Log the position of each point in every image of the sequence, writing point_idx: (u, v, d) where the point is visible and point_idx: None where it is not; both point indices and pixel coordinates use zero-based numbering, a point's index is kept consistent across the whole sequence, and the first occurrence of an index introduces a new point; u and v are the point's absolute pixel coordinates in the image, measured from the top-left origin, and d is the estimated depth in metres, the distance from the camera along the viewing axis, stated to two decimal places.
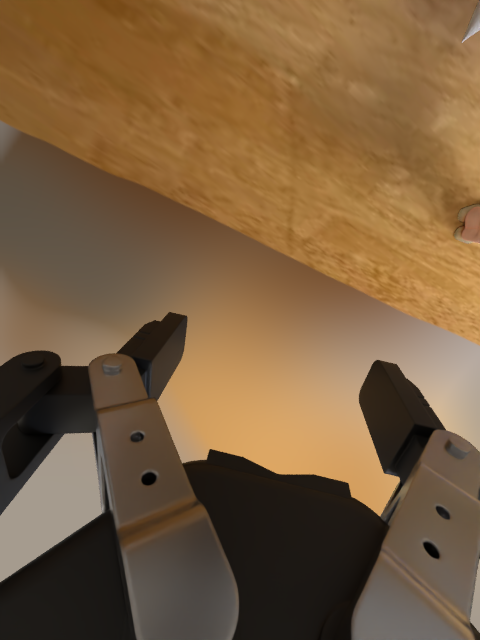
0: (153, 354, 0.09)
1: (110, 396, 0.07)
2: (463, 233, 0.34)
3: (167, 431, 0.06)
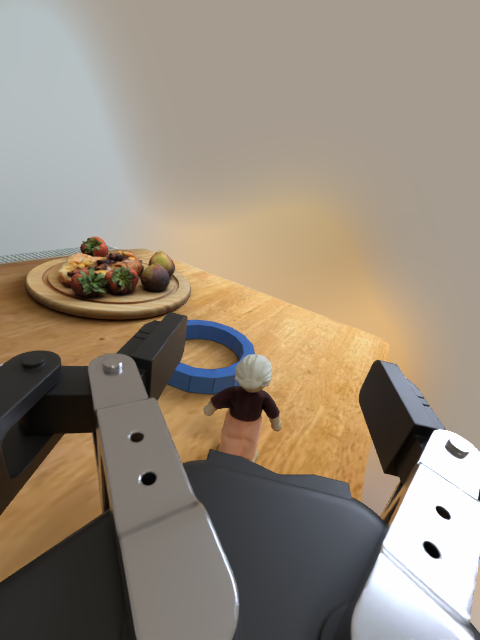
0: (153, 354, 0.09)
1: (110, 396, 0.07)
2: (247, 456, 0.29)
3: (167, 431, 0.06)
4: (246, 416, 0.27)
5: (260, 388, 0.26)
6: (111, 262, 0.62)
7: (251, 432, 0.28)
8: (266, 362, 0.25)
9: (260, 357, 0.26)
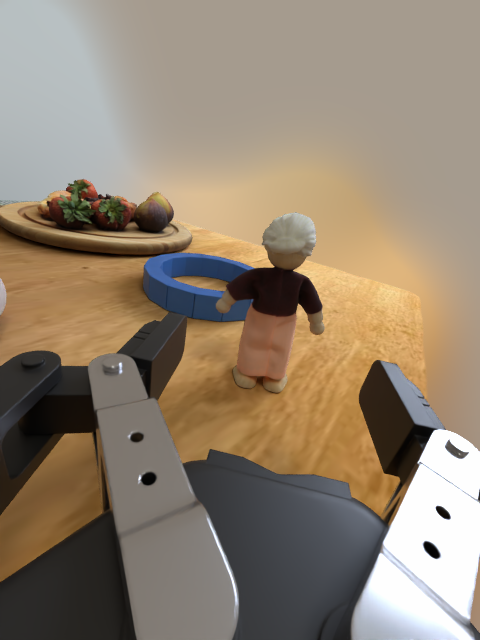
0: (153, 354, 0.09)
1: (110, 396, 0.07)
2: (274, 375, 0.21)
3: (167, 431, 0.06)
4: (277, 307, 0.19)
5: (299, 259, 0.18)
6: None
7: (282, 337, 0.20)
8: (309, 219, 0.17)
9: None
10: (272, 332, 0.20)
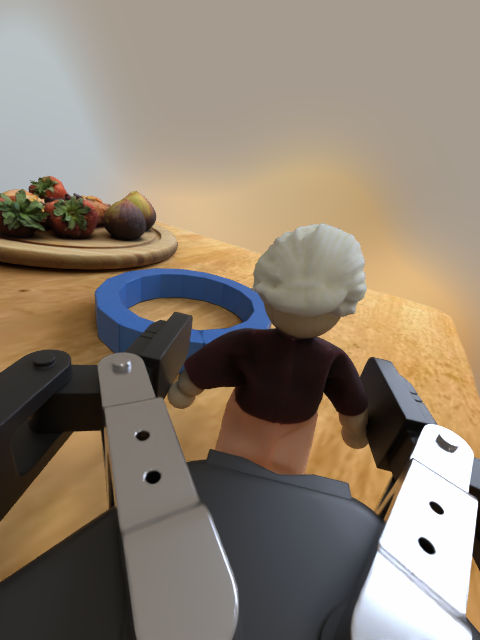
0: (161, 353, 0.09)
1: (118, 394, 0.07)
2: None
3: (173, 431, 0.06)
4: (283, 409, 0.09)
5: (331, 322, 0.08)
6: None
7: (291, 451, 0.11)
8: (352, 237, 0.08)
9: (331, 226, 0.08)
10: (273, 447, 0.11)
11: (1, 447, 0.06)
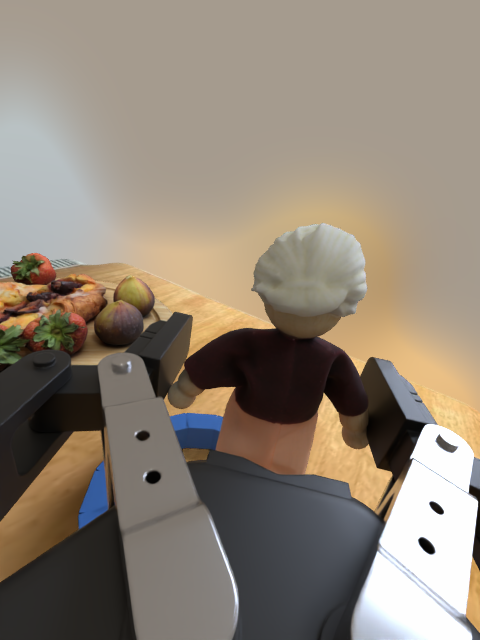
0: (161, 353, 0.09)
1: (118, 394, 0.07)
2: None
3: (173, 430, 0.06)
4: (283, 409, 0.09)
5: (331, 322, 0.08)
6: (51, 296, 0.39)
7: (291, 452, 0.11)
8: (353, 237, 0.08)
9: (332, 226, 0.08)
10: (273, 447, 0.11)
11: (1, 447, 0.06)
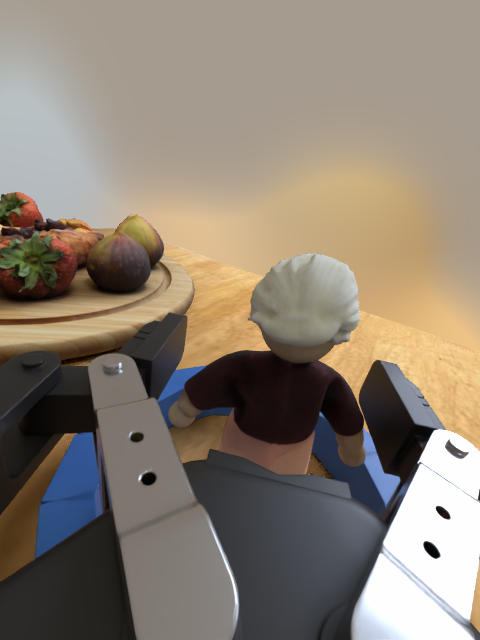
0: (153, 354, 0.09)
1: (110, 396, 0.07)
2: None
3: (167, 431, 0.06)
4: (280, 430, 0.10)
5: (325, 349, 0.09)
6: (33, 234, 0.31)
7: (289, 469, 0.11)
8: (346, 268, 0.08)
9: None
10: (271, 465, 0.11)
11: None
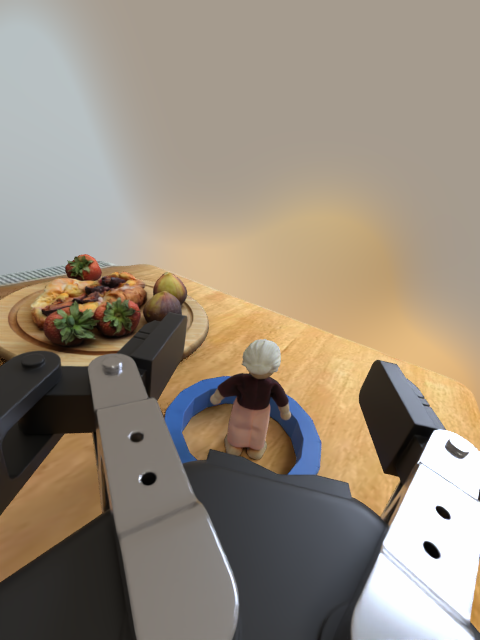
0: (153, 354, 0.09)
1: (110, 396, 0.07)
2: (255, 447, 0.28)
3: (167, 431, 0.06)
4: (254, 404, 0.26)
5: (269, 374, 0.25)
6: (104, 289, 0.47)
7: (259, 421, 0.27)
8: (275, 347, 0.24)
9: (268, 342, 0.25)
10: (252, 419, 0.27)
11: None
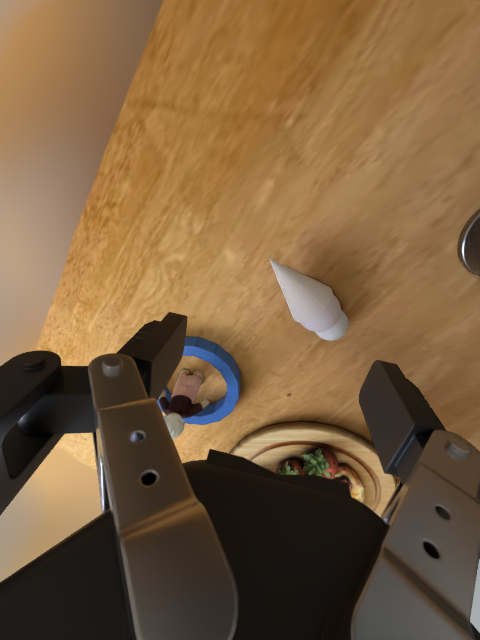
0: (153, 354, 0.09)
1: (110, 396, 0.07)
2: (184, 375, 0.47)
3: (167, 431, 0.06)
4: (180, 397, 0.42)
5: (168, 414, 0.39)
6: None
7: (178, 388, 0.44)
8: None
9: None
10: (183, 389, 0.44)
11: None
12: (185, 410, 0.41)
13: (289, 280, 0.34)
